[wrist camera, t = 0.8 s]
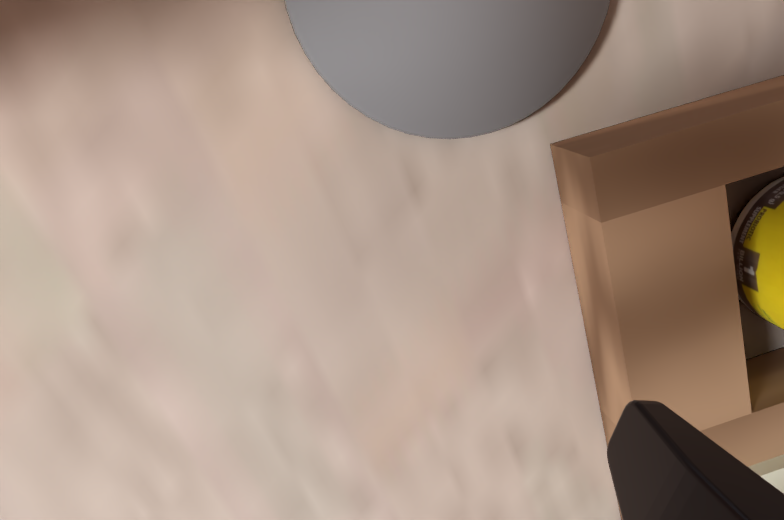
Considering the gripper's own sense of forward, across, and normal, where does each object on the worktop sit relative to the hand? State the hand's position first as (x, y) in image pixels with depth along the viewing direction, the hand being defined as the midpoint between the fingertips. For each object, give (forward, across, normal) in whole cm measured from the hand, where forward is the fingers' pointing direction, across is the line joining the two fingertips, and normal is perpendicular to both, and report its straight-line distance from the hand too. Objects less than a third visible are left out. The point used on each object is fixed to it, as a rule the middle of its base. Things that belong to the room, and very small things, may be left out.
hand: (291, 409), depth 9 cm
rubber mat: (+16, -5, -3) cm, 17 cm away
